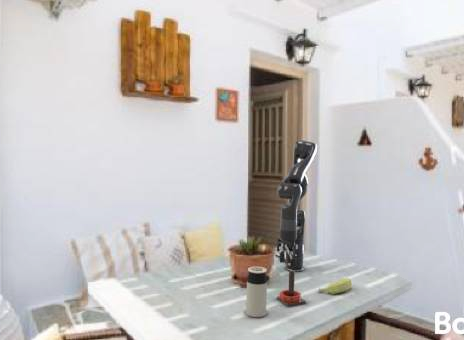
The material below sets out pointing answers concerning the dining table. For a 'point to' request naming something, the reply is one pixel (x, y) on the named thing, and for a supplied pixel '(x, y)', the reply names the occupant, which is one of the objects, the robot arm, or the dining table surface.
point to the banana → (338, 286)
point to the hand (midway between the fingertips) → (287, 264)
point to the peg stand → (291, 292)
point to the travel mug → (256, 292)
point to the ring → (289, 298)
